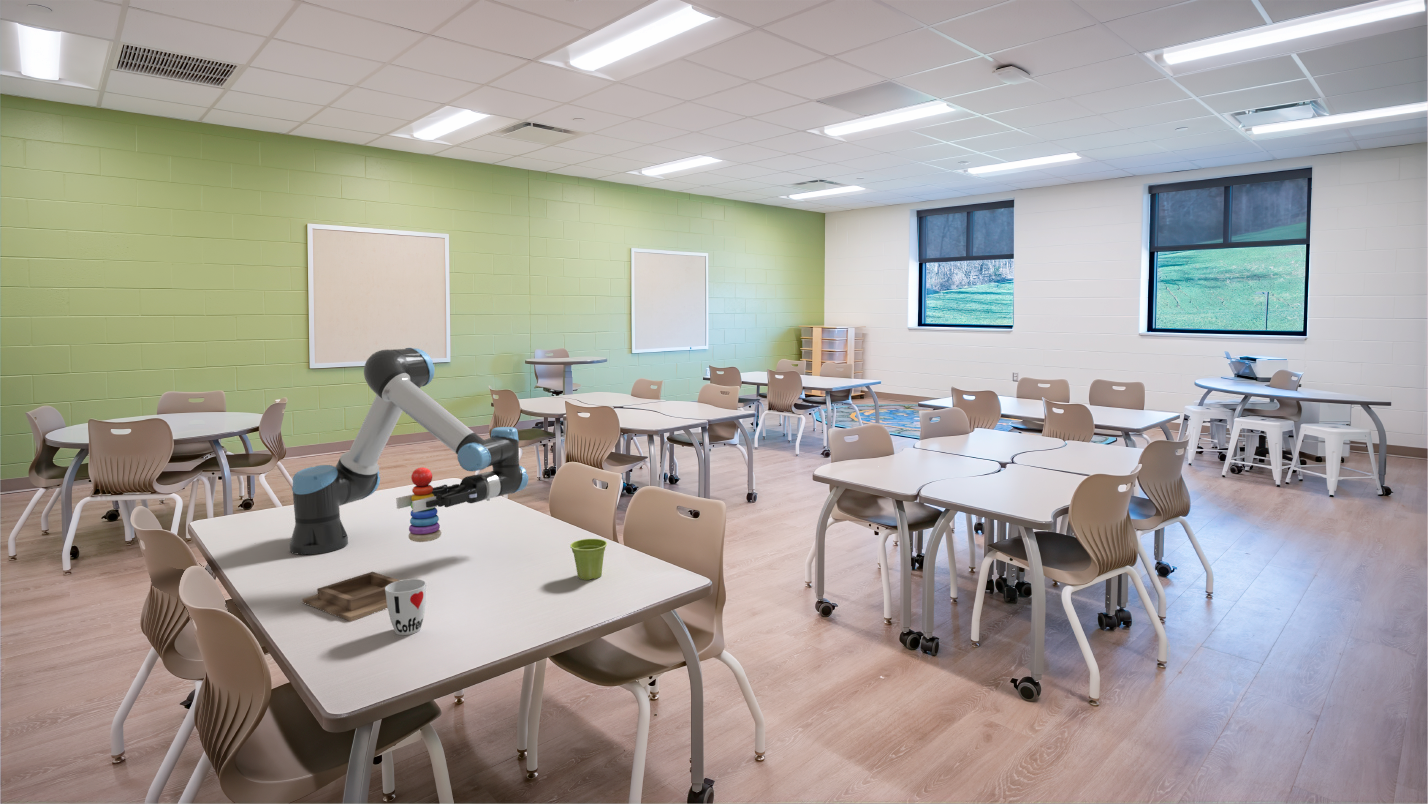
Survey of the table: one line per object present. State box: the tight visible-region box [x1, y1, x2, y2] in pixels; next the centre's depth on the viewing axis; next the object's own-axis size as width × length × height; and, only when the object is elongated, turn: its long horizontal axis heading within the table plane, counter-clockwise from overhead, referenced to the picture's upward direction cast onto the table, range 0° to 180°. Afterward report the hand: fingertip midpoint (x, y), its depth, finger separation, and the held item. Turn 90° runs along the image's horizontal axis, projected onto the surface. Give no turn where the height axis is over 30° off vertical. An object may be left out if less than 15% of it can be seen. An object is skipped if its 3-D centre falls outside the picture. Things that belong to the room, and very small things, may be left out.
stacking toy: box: [408, 467, 442, 543], centre depth 192 cm, size 8×8×19 cm
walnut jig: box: [302, 571, 402, 622], centre depth 177 cm, size 20×18×4 cm
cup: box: [385, 578, 427, 636], centre depth 159 cm, size 8×8×10 cm
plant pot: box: [569, 538, 608, 581], centre depth 192 cm, size 9×9×9 cm
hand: (405, 505), depth 188 cm, fingers closed on stacking toy, 6 cm apart
